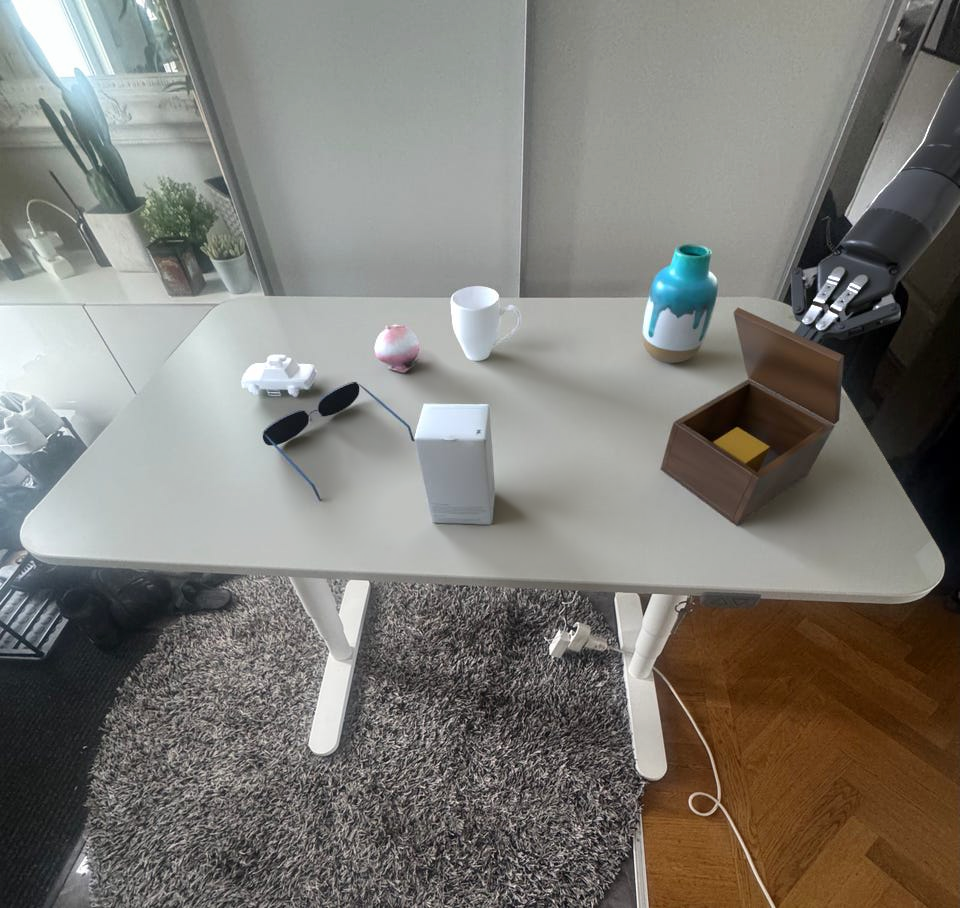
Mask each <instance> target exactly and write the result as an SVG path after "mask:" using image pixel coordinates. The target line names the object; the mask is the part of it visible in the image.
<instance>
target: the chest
mask: <svg viewBox="0 0 960 908" xmlns="http://www.w3.org/2000/svg"><path fill="white" fill-rule="evenodd" d="M736 427H738V428H740V429H742V430H743V431H745V432H747V433H748V434H750V435H751V436H753V437H755V438H756V439H758V440H760V441H761V442H763V443H765V444H766V445H768V446H770V448H769V450H768V452H767V454H766V456H765V459H764V461H763V463H762V465H761V467H760V469H759V471H758V472H756V471H755V470H753V469H752V468H750V467H749V466H747V465H746V464H744V463H742V462H741V461H739V460H738V459H736V458H735V457H733V456H732V455H730V454H729V453H727V452H726V451H724V450H723V449H721V448H719V447H718V446H716V445H715V444H713V442H714V441H716V440H717V439H719V438H720V437H722V436H723V435H725V434H727V433H728V432H730V431H731V430H733V429H735V428H736ZM835 427H836V424H835V425H834V424H832V423H831V422H829V421H827V420H825V419H823V418H821V417H819V416H818V415H816V414H814V413H812V412H810V411H808V410H806V409H805V408H803V407H801V406H799V405H797V404H795V403H794V402H792V401H790V400H788V399H786V398H784V397H782V396H781V395H779V394H777V393H775V392H773V391H771V390H769V389H768V388H766V387H764V386H762V385H760V384H758V383H756V382H755V381H753V380H751V379H749V378H747V379H746V380H744V381H742V382H740V383H739V384H737V385H735V386H734V387H732V388H730V389H728V390H727V391H725V392H724V393H721V394H720V395H718V396H715V397H714V398H713V399H711V400H710V401H708V402H706V403H704V404H703V405H701V406H700V407H697V408H696V409H694V410H692V411H690V412H689V413H687V414H685V415H684V416H681V417H680V418H678V419H677V420H675V421H673V423H672V426H671V430H670V433H669V437H668V440H667V444H666V448H665V451H664V455H663V458H662V462H661V466H660V468H659V470H660V471H662V472H663V473H664V474H666V475H667V476H668V477H669V478H671V479H673V480H674V481H675V482H676V483H678V484H679V485H680V486H682V487H683V488H685V489H686V490H687V491H689V492H690V493H691V494H693V495H694V496H695V497H697V498H698V499H699V500H701V501H702V502H704V504H706V505H708V506H709V507H710V508H712V509H713V510H714V511H716V512H717V513H718V514H719V515H721V516H722V517H723V518H725V519H726V520H727V521H728V522H730V523H732V524H733V525H734V526H736V527H737V526H739V525H740V524H742V523H743V522H744V521H746V520H747V519H749V518H750V517H751V516H753V515H754V514H756V513H757V511H759V510H761V509H762V508H763V507H765V506H766V505H768V504H769V503H770V502H771V501H773V500H774V499H775V498H777V497H778V496H780V495H781V494H782V493H784V492H785V491H787V490H788V489H789V488H791V487H792V486H793V485H794V484H796V483H797V482H799V481H800V480H802V479H803V478H804V477H806V476H807V475H808V474H809V473H810V472H811V469H812V467H813V466H814V464H815V462H816V460H817V458H818V457H819V455H820V453H821V451H822V450H823V448H824V446H825V445H826V443H827V441H828V439H829V437H830V436H831V434H832V432H833V430H834V429H835Z"/></svg>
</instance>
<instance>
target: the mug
mask: <svg viewBox="0 0 960 908" xmlns="http://www.w3.org/2000/svg"><path fill="white" fill-rule="evenodd" d="M450 309H451V320H452V321H451V322H452V328H453V331H454V334H455V337H456V339H457V341H458V342H459V344H460V347H461V348H462V350H463V352H464V354H465V356H466V358H467V359H468V360H470V361H474V362H480V361H481V362H482V361H484V360H487V359H488V358H489V357H490V354H491V352H492V350H493V348H494V347H497V346H499V345H501V344H502V343H504V342H505V341H507V340H508V339H509V338H512V336H513V335H515V334H516V333H517V332H518V331H519V329H520V327H521V324H522V314H521V311H520V309H519V308H518V306H516V305H515V304H508V305H506V306H504V307H503V308H502V307H501V299H500V295H499V293H498V292H497V290H495V289H493V288H490V287H487V286H481V285H475V286H474V285H472V286H467V287H462V288H460V289H458V290H456V291H455V292H454V293H453V294H452V296H451V298H450ZM509 311H512V312H514V313H515V314H516V316H517V322H516V325H515V326H514V327H513V329H511V331H509V332H508V333H506V334H505V335H504V336H502V337H501V338H500V339H497V337H498V334H499V332H500V326H501V321H502V317H503V315H504V314H505V313H507V312H509Z"/></svg>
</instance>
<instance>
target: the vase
mask: <svg viewBox="0 0 960 908" xmlns="http://www.w3.org/2000/svg"><path fill="white" fill-rule="evenodd" d="M711 258H712V250H711V248H709V247H708V246H706V245H704V244H700V243H694V242H689V243H688V242H687V243H681V244H679V245H677V246H676V247H675V249H674V252H673V256H672V259H671V262H670V265H667V266H666V267H664V268H662V269H661V270H659V272H657V274H656V275H655V277H654V279H653V281H652V284H651V286H650V289H649V293H648V297H647V302H646V307H645V311H644V316H643V324H642V336H641V337H642V343H643V347H644V349H645V350H646V352H647V353H648V354H649V356H651V357H652V358H654V359H656V360H658V361H660V362H665V363H675V364H676V363H681V362H682V363H683V362H685V361H688V360H689V359H690V358H692V357H694V356H695V355H696V354H697V353H698V352H699V350H700V349H701V347H702V345H703V343H704V341H705V338H706V336H707V333H708V331H709V328H710V324H711V321H712V317H713V314H714V310H715V307H716V301H717V298H718V297H717V296H718V291H719V284H718V279H717V277H716V275H714V273H713V272H711V270H709V268H710V264H711V263H710V262H711Z"/></svg>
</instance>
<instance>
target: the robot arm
mask: <svg viewBox="0 0 960 908" xmlns="http://www.w3.org/2000/svg"><path fill="white" fill-rule="evenodd" d="M959 206H960V67H959V68H958V70H957V71H956V73H955V74H954V76H953V77H952V79H951V81H950V83H949V84H948V86H947V88H946V89H945V91H944V94H943V97H942V98H941V101H940V102H939V105H938V107H937V109H936V111H935V114H934V115H933V118H932V120H931V121H930V124H929V125H928V128H927V131H926V132H925V136H924V138H923V140H922V142H921V143H920V145H918V147H917V149H916V150H915V151H914V152H913V153H912V154H911V156H910V157H909V158H908V160H907V161H906V162H905V164H904V165H903V166H902V167H901V168H900V169H899V171H898V172H897V173H896V175H895V176H894V177H893V178H892V180H890V181H889V182H888V183H887V185H885V186H884V187H883V188H882V189H881V190H880V192H879V193H878V194H877V195H876V196H875V198H874V199H873V200H872V202H869V204H868V205H867V206H866V207H865V209H864V211H863V213H862V214H861V215H860V216H859V218H858V219H857V221H856V222H855V223H854V224H853V226H852V227H851V228H850V230H849V231H848V232H847V233H846V234H845V236H844V237H843V238H842V239H841V241H840V242H839V243H838V244H837V246H836V247H835V249H834V250H833V251H832V253H831V254H830V255H829V256H827V257H825V258H823V259H822V260H820V261H819V263H818V264H817V266H813V267H809V268H805V269H802V267H800V266H797V267H794V268H792V269H791V271H790V284H791V285H790V291H791V311H792V314H793V315H794V319H795V321H797V322H799V325H798V327H797V328H796V329H795V330H794V331H793V333H796V334H798V335H800V336H802V337H804V338H807V339H809V340H811V341H813V342H815V343H818V344H820V345H822V343H823V342H824V341H825V340H827V339H829V338H835V339H838V340H841V341H845V340H848V339H851V338H854V337H857V336H860V335H862V334H865V333H868V332H872V331H873V330H877V329H879V328H882V327H885V326H888V325H890V324H893V323H896V322H898V321H899V320H900V319H901V305H900V304H899V302H896V300H895V299H894V298H895V297H894V295H895V294H896V292H897V286H898V284H899V282H900V281H901V280H902V278H904V276H905V275H906V274H907V273H908V271H909V270H910V269H911V267H913V266H914V264H915V263H916V261H917V260H918V259H919V258H920V257H921V255H922V254H923V253H924V252H925V251H926V250H927V248H928V247H929V246H930V245H931V244H932V243H933V241H935V239H936V238H937V236H938V235H939V234H940V233H941V231H942V230H943V229H944V228H945V227H946V225H947V224H948V223H949V221H950V220H951V218H952V217H953V215H954V214H955V213H956V211H957V209H958V208H959ZM815 280H816V296H815V297H814V298H813V301H812V303H811V305H810V307H809V308H807V289H809V288H811V287H812V286H813V283H814V281H815ZM870 307H873V308H872V310H869V311H866V312H863V313H862V314H858V315H856V316H853V317H851V316H852V315H853V314H854V313H857V312H861V311H862V310H866V309H869V308H870Z"/></svg>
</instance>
